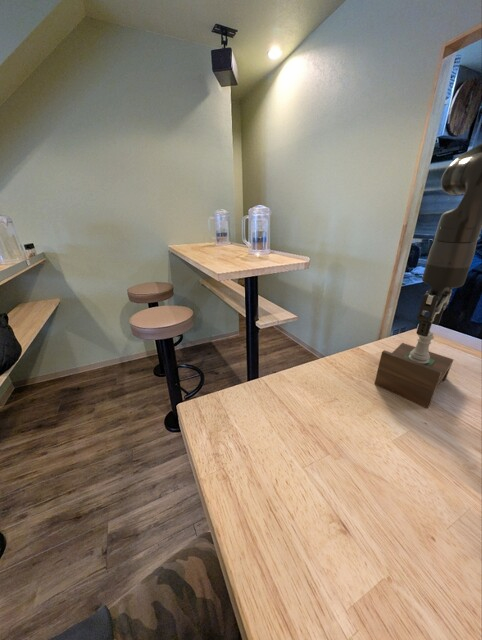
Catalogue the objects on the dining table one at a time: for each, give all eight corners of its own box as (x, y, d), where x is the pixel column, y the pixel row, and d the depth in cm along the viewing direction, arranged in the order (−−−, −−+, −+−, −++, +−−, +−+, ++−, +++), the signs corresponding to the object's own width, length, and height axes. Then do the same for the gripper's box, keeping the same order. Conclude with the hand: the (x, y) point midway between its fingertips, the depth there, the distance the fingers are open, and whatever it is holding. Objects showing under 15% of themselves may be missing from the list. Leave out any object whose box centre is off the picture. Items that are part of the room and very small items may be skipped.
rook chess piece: (416, 353, 67) (425, 327, 64) (433, 362, 63) (442, 334, 60) (404, 357, 66) (411, 330, 63) (419, 366, 62) (428, 338, 59)
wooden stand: (397, 359, 75) (405, 330, 71) (446, 378, 67) (458, 346, 63) (374, 384, 66) (381, 351, 62) (427, 408, 58) (440, 373, 54)
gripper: (462, 271, 47) (437, 345, 54) (477, 258, 55) (454, 324, 62) (416, 265, 52) (399, 334, 59) (437, 254, 61) (419, 315, 68)
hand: (427, 329), depth 61 cm, fingers open, 8 cm apart
